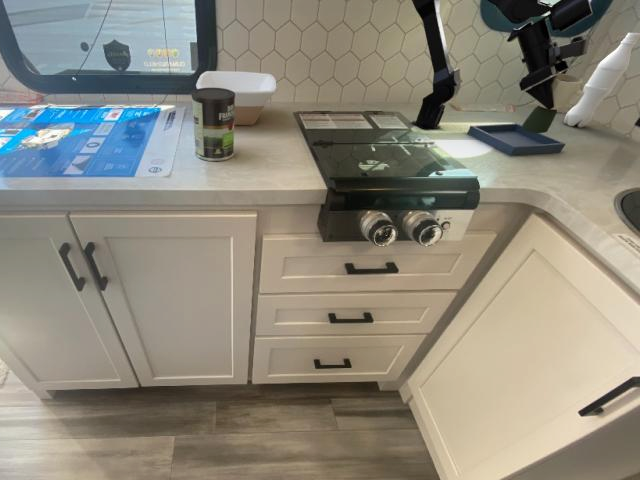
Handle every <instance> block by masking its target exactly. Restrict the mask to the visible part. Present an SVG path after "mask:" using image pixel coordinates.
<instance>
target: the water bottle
mask: <svg viewBox="0 0 640 480" xmlns="http://www.w3.org/2000/svg"><path fill="white" fill-rule="evenodd" d="M639 38H640V33H639V32H627V34H626V36H625V37H624V38H623V39H622V41H620V44H619V45H618V47H617V48H615V49H614V50H613V51H612V52H611V53H609V54H608V55H607V56H606V57H605V58H603V59H602V60H601V61H600V62H599V63H598V64H597V66H596V68H595V70H594V71H593V72H592V74H591V75H590V77H589V79H588V81H587V82H586V83H585V84H584V86H583V89H582V91H583V92H585V93H584V95H583V97H582V98H581V99H580V101H579V102H578V104H577V105H576V106H573V107H571V109H570V110H568V111H567V112H566V115H565V116H564V119H563V123H564V124H566V125H568V126H569V127H574V126H575V125H577V128H584V127H585V126H586V125H588V124H589V123H590V122H591V121H592V120H593V118H594V116H595V113H596V110H597V108H598V107H599V105H600V104H601V103H602V102H603V100H604V99H605V98H607V96H608V95H610V93H611V92H612V91H614V90H613V89H614V87H615V86H616V85H617V84H618V82H619V80H620V79H621V77H622V76H623V74H624V73H625V72H626V71H627V69H628V68H629V65H630V61H631V54H632V50H633V48H634V46H635V45H637V42H638V39H639Z"/></svg>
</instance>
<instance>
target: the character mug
mask: <svg viewBox="0 0 640 480" xmlns="http://www.w3.org/2000/svg"><path fill="white" fill-rule="evenodd" d="M555 75H558V76H557V77H556V79H555V81H554V83H553V85H552V87H553V97H554V108H552V109H547V108H546V107H545V106H544V105H542V104H541V103H540V102H539V101H537V100H536V99H535V101H534V103H535V104H536V105H537V106H536V107H534V109H532V111H531V112H530V114H529V115H528V117H527V118H526V119H525V120H524V122H523V124H521V125H522V127H523V129H525V130H526V131H529V132H532V133H541V134H544V133H547V132H548V131H549V129H550V127H551V126H552V124H553V122H554V120H555V118H556V116H557V113H558V110H562V109H564V108H565V107H567V105H569V106H573V107H574V106H576V105H577V104H578V102H579V101H580V99H581V98H582V97H583V95H584V93H585V92H583V90H580V89H579V88H580V86H581V84H582V83H583V82H584V81H583V79H582V78H580V77H579V76H576V75H574V74H573V75H572V74H569V73H567V74H554V75H552V77H553V76H555ZM575 95H577V96H576V98H575V99H574V100H572V98H573V97H574V96H575Z"/></svg>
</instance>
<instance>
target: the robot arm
mask: <svg viewBox="0 0 640 480" xmlns="http://www.w3.org/2000/svg"><path fill="white" fill-rule="evenodd" d="M486 1H487V2H489V3H491V4H493V5H494V6H495V7H496V9H498V11H499V12H500V13H501V14H502V16H504V17H505V18H506V19H507V20H508V21H509V22H510V23H511V24H513V25H520V24H523V23H525V22H527V21H529V20H530V21H529V22H527V23H526V24H524V25H522V26H521V27H519V28H518V29H517V28H512V29H511V31H510V33H509V36H508V37H507V39H506V42H507V43H512V42H514V41H515V40H517V42H518V44H519V45H518V46H519V48H520V51H521V54H522V57H523V58H521V64H525V67H526V70H527V73H528V74H526V76H524V77H523V78H521V79H520V82H519V83H518V86H519V88H520V91H521V92H523V91H524V92H525V93H526V94H528V95H529V96H531V97H532V98H533V99H535V101H536V100H537V101H539V102H540V103H541V104H542V105H544V106H545V107H546V108H547V109H552V108H554V97H553V87H552V85H553V83H554V81H555V79H556V77H557V76H558V75H555V76H553V77H552V75H554V74H568V72H569V70H570V69H569V68H572V63H571V62H570V58H576V57H582V56H585V55H586V54H588V48H589V45H590V38H589V37H588V38H585V37H584V35H579V36H576V37H572V39H571V41H570V43H569V42H568V43H566V44H563V45H559V44H558V42H557V41H553V39H552V36H551V33H550V29H549V27H548V23H547V20H548V21H549V24H550V27H551V30H552V32H553V33H554V32H556V31H559V32H560V33H563V32H564V31H566V30H568V29H570V28H572V27H573V26H575V25H576V24H578V23H579V22H581V21H583V20H585V19H587V18H588V17H590V16H592V15H594V13H593V9H592V6H591V2H590V0H559V1H557V2H556V3H554V4H551V2H548V3H547V2H544V1H541V0H486ZM411 2H412V4H413V6H414V7H413V8H414V9H415V11H416V13H417V14H418V16H419V18H420V19H421V21H422V25H423V29H424V33H425V39H426V43H427V47H428V52H429V57H430V61H431V67H432V70H433V79H432V92H431V93H429V94H427V95H426V96H425V97H423V98H422V102H421V106H420V109H419V112H418V115H417V117H416V120H413V121H412V122H411V124H414V126H417V127H418V128H420V129H422V130H434V129H435V130H437V129H441V126H440V122H441V121H442V118H443V116H444V113H445V109H446V105H445V104H446V103H447V102H449V101H450V100H452V99H453V98H455V97H456V96H457V95H458V94H459V92H460V90H461V84H462V83H463V80H462V78H461V69H460V67H457V68H455V69H454V68H453V66H452V65H451V61H450V57H449V51H448V47H447V41H446V37H445V31H444V26H443V21H442V16H441V12H440V11H441V10H440V9H441V0H411ZM548 13H549V14H548ZM546 14H547V15H546ZM544 15H546V16H544ZM543 16H544V17H543ZM540 17H542V18H540ZM532 18H540V19H539V20H537V21H535V22H533V20H531V19H532ZM530 87H531V88H530ZM528 88H529V89H528Z"/></svg>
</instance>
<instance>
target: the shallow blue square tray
mask: <svg viewBox="0 0 640 480" xmlns="http://www.w3.org/2000/svg"><path fill="white" fill-rule="evenodd" d="M522 125H523V124H520V123H517V122H515V123H499V124H480V125H479V124H477V125H470V126H469V128H468V131H467V133H466V134H467V135H469V136H471V137H473V138H474V139H476V140H479V141H480V142H482V143H484V144H487V145H488V146H490V147H492V148H494V149H496V150H498V151H500V152H502V153H504V154H506V155H508V156H510V157H511V156H525V155H526V156H527V155H538V154H552V153H553V154H554V153H561V152H562V150H563V149H564V148H565V146H566V143H564V142H562V141H560V140H558V139H555V138H553V137H550V136H548V135H546V134H544V133H532V132H529V131H526V130H525V129H523V127H522Z"/></svg>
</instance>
